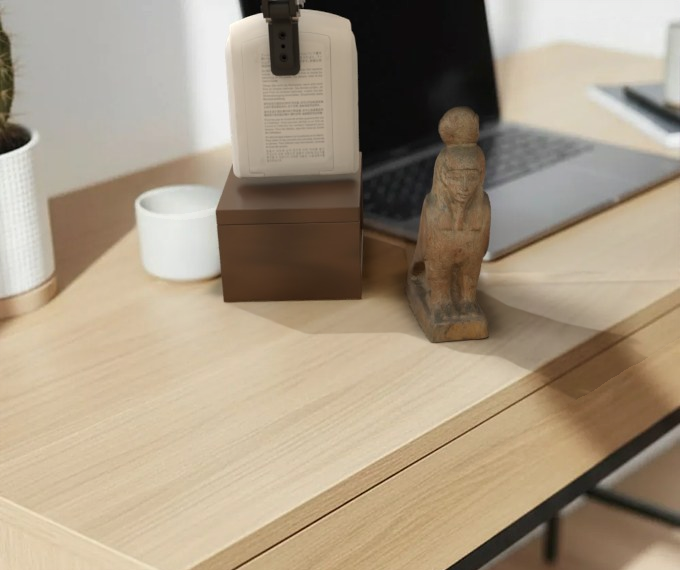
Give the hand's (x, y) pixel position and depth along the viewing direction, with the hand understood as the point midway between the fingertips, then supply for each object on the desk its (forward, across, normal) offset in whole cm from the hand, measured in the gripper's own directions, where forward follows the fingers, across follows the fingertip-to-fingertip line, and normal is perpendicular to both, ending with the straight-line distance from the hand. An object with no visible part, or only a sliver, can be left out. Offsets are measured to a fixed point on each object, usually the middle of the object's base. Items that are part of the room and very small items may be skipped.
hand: (288, 66), depth 93 cm
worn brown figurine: (+17, -10, -12) cm, 23 cm away
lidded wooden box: (+16, 0, 0) cm, 16 cm away
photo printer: (+9, 0, 0) cm, 9 cm away
